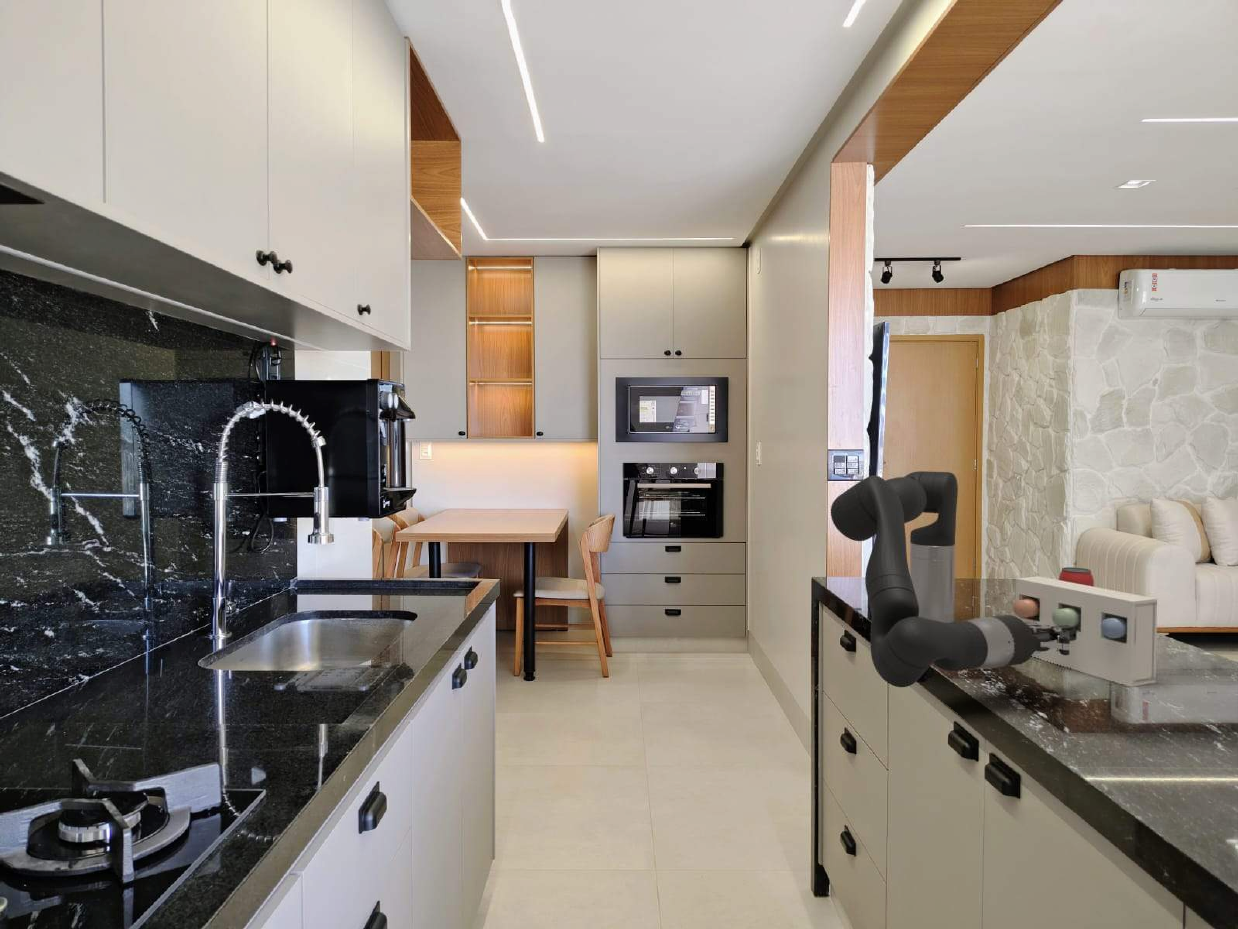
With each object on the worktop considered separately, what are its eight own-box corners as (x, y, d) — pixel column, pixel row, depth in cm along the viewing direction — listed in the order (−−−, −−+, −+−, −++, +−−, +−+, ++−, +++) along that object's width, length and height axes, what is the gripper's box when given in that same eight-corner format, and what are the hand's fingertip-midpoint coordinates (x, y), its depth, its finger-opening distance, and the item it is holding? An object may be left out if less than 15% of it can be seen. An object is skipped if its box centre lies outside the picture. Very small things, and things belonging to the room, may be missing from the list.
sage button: (1051, 625, 132) (1052, 607, 132) (1066, 623, 134) (1066, 605, 134) (1068, 629, 129) (1068, 611, 129) (1083, 627, 131) (1083, 609, 131)
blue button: (1100, 635, 125) (1100, 616, 125) (1115, 633, 127) (1115, 615, 127) (1119, 640, 122) (1119, 621, 122) (1134, 638, 124) (1134, 619, 124)
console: (1014, 651, 142) (1015, 578, 142) (1037, 648, 144) (1038, 576, 144) (1130, 687, 122) (1132, 601, 121) (1155, 682, 124) (1157, 598, 123)
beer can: (1060, 625, 162) (1061, 570, 162) (1055, 619, 168) (1056, 566, 168) (1096, 628, 159) (1097, 572, 159) (1089, 621, 166) (1090, 567, 165)
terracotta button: (1013, 615, 140) (1013, 598, 140) (1027, 614, 141) (1027, 597, 141) (1028, 619, 137) (1028, 602, 137) (1042, 617, 138) (1042, 600, 138)
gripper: (1030, 627, 108) (1112, 618, 114) (957, 608, 120) (1036, 601, 126) (1029, 679, 108) (1111, 667, 114) (957, 655, 120) (1035, 645, 126)
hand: (1071, 632), depth 120 cm, fingers closed
